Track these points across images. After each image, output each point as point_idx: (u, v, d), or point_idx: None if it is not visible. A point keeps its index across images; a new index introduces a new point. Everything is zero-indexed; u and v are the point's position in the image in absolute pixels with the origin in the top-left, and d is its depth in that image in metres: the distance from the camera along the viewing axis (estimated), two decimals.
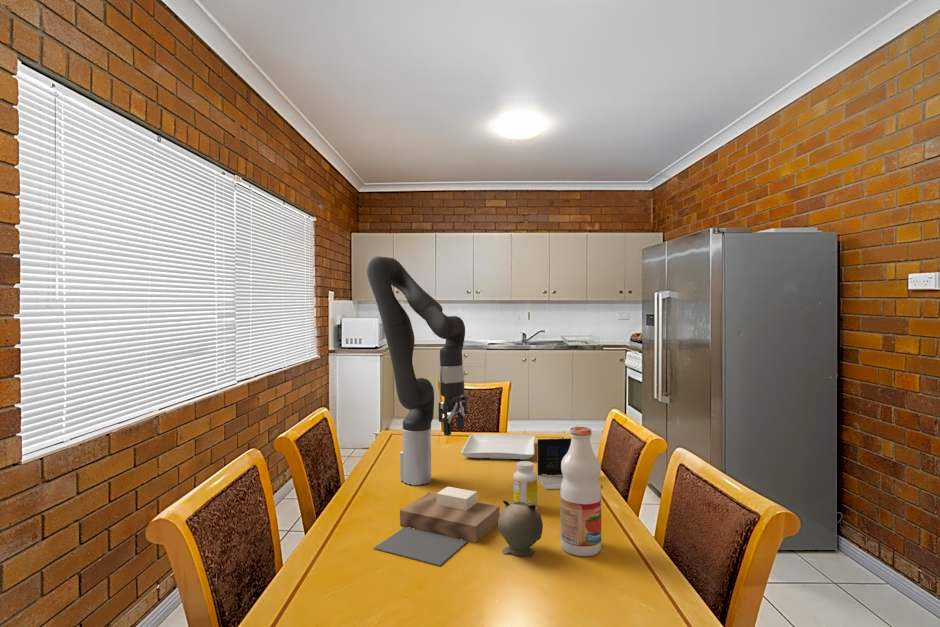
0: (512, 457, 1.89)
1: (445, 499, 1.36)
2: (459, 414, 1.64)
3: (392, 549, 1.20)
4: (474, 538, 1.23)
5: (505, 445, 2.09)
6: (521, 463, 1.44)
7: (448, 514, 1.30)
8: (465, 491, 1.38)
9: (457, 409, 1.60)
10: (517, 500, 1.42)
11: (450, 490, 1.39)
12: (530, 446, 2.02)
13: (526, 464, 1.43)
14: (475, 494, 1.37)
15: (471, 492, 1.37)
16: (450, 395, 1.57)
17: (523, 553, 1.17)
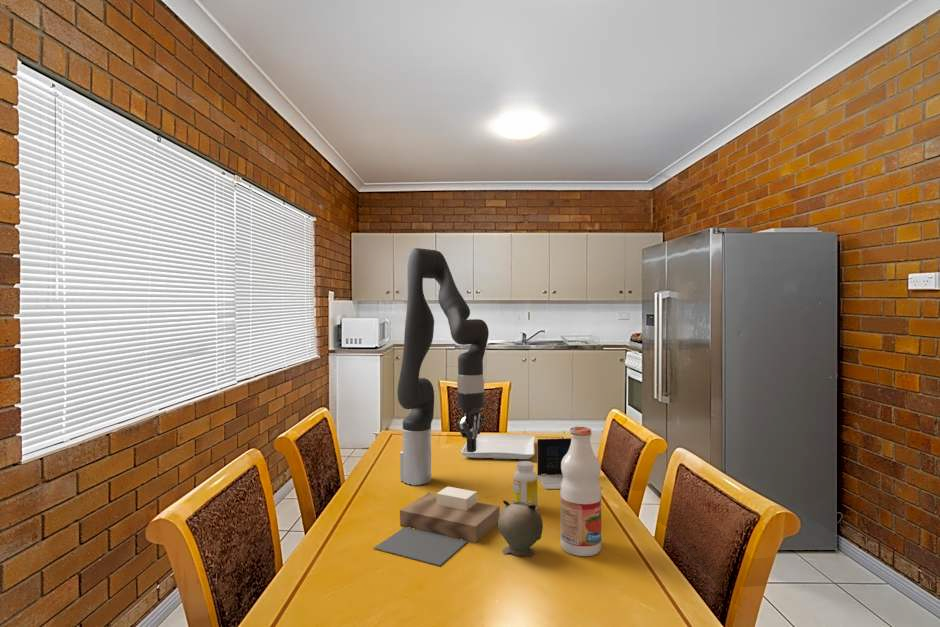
0: (512, 457, 1.89)
1: (445, 499, 1.36)
2: None
3: (392, 549, 1.20)
4: (474, 538, 1.23)
5: (505, 445, 2.09)
6: (521, 463, 1.44)
7: (448, 514, 1.30)
8: (465, 491, 1.38)
9: None
10: (517, 500, 1.42)
11: (450, 490, 1.39)
12: (530, 446, 2.02)
13: (526, 464, 1.43)
14: (475, 494, 1.37)
15: (471, 492, 1.37)
16: (469, 407, 1.41)
17: (523, 553, 1.17)
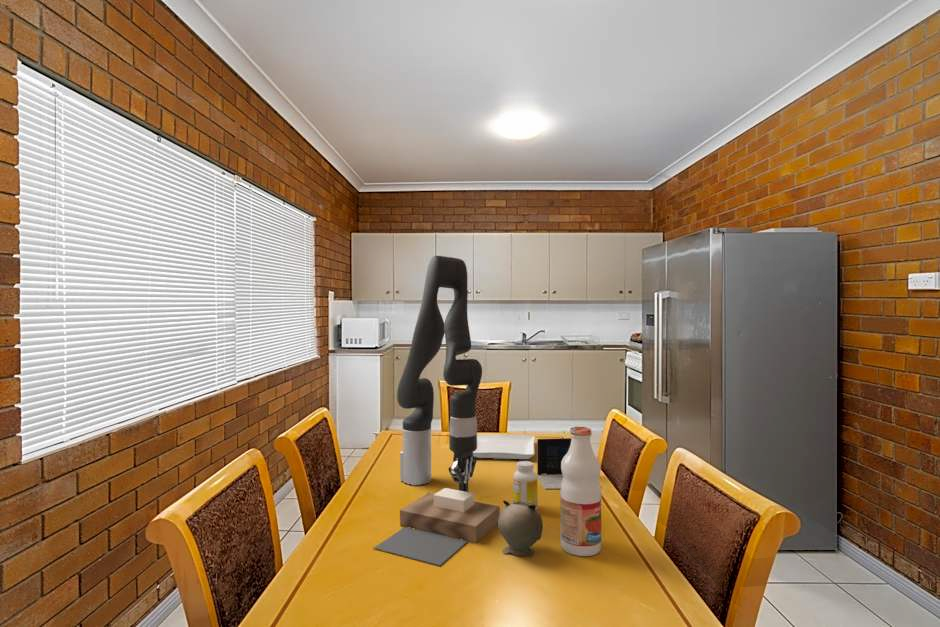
0: (512, 457, 1.89)
1: (442, 501, 1.35)
2: None
3: (392, 549, 1.20)
4: (474, 538, 1.23)
5: (505, 445, 2.09)
6: (521, 463, 1.44)
7: (448, 514, 1.30)
8: (462, 493, 1.37)
9: None
10: (517, 500, 1.42)
11: (447, 491, 1.38)
12: (530, 446, 2.02)
13: (526, 464, 1.43)
14: (472, 496, 1.36)
15: (468, 494, 1.36)
16: (461, 451, 1.37)
17: (523, 553, 1.17)
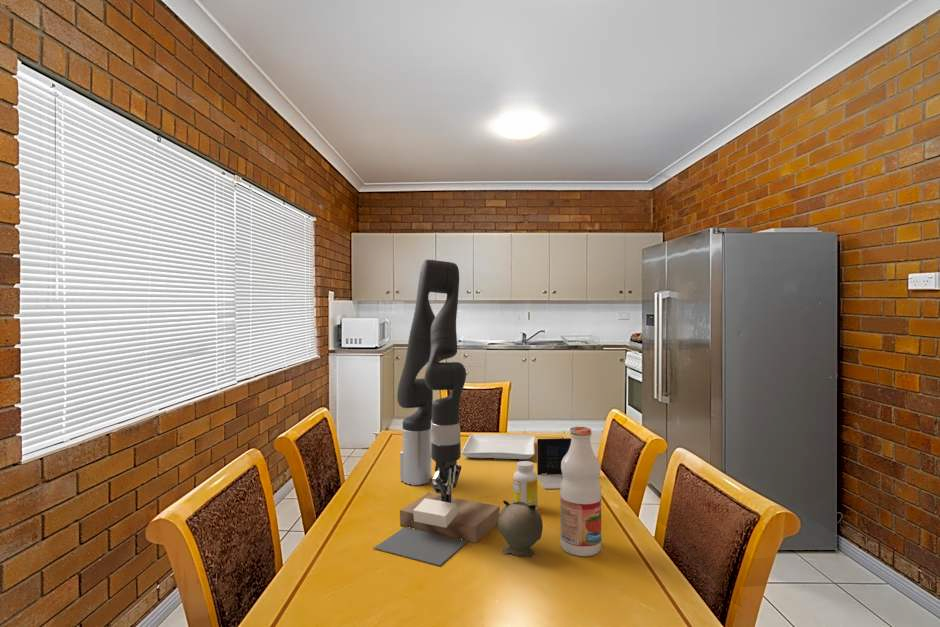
0: (512, 457, 1.89)
1: (422, 516, 1.26)
2: None
3: (392, 549, 1.20)
4: (474, 538, 1.23)
5: (505, 445, 2.09)
6: (521, 463, 1.44)
7: None
8: (444, 504, 1.29)
9: None
10: (517, 500, 1.42)
11: (428, 503, 1.29)
12: (530, 446, 2.02)
13: (526, 464, 1.43)
14: (455, 507, 1.28)
15: (450, 505, 1.28)
16: (443, 460, 1.28)
17: (523, 553, 1.17)
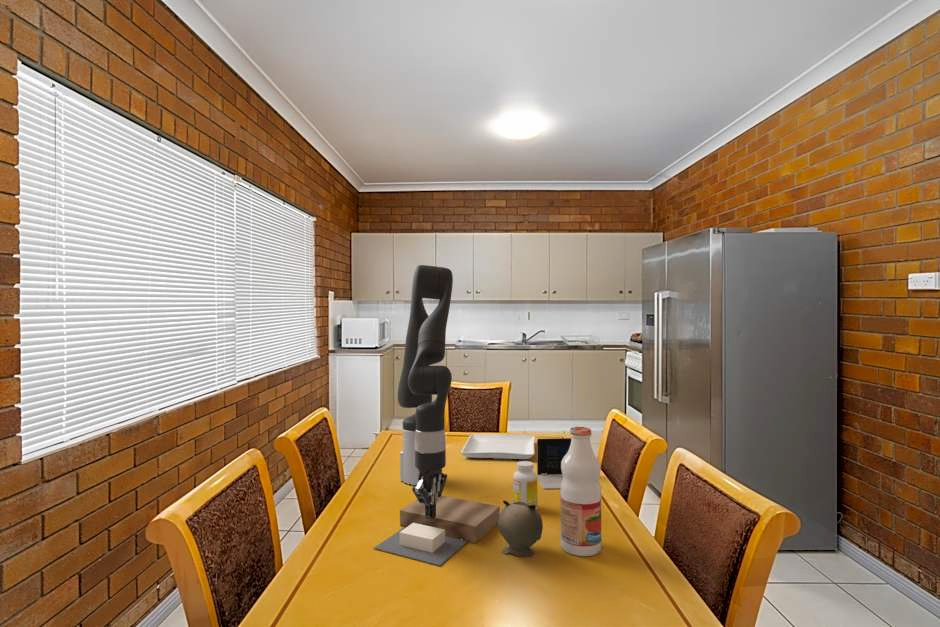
0: (512, 457, 1.89)
1: None
2: None
3: (392, 549, 1.20)
4: (474, 538, 1.23)
5: (504, 445, 2.09)
6: (521, 463, 1.44)
7: (448, 514, 1.30)
8: None
9: None
10: (517, 500, 1.42)
11: None
12: (530, 446, 2.02)
13: (526, 464, 1.43)
14: (434, 549, 1.18)
15: None
16: (426, 469, 1.22)
17: (523, 553, 1.17)
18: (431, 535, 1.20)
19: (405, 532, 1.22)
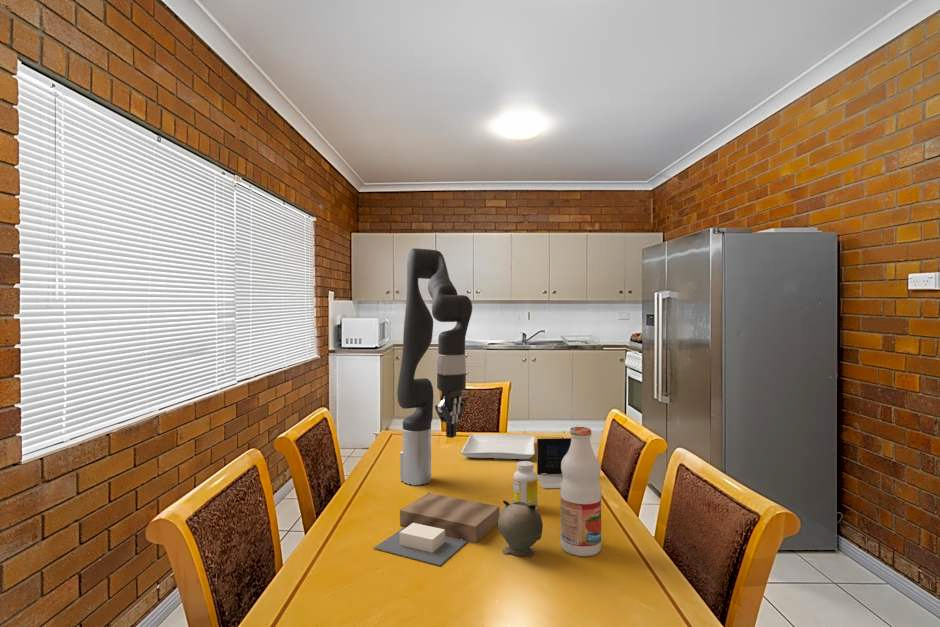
0: (512, 457, 1.89)
1: None
2: None
3: (392, 549, 1.20)
4: (474, 538, 1.23)
5: (504, 445, 2.09)
6: (521, 463, 1.44)
7: (448, 514, 1.30)
8: None
9: None
10: (517, 500, 1.42)
11: None
12: (530, 446, 2.02)
13: (526, 464, 1.43)
14: (434, 549, 1.18)
15: None
16: (448, 389, 1.31)
17: (523, 553, 1.17)
18: (431, 535, 1.20)
19: (405, 532, 1.22)
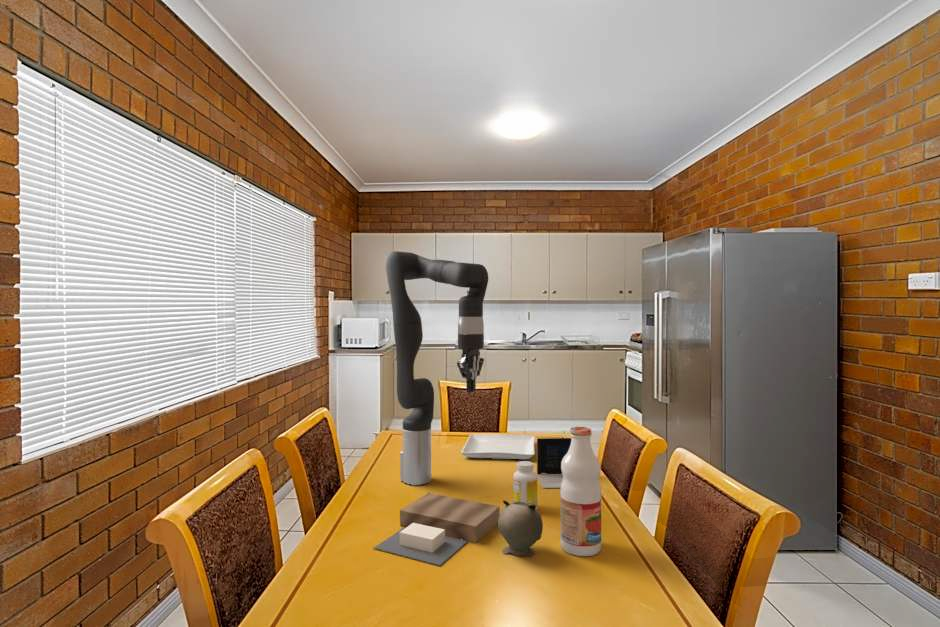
0: (512, 457, 1.89)
1: None
2: None
3: (392, 549, 1.20)
4: (474, 538, 1.23)
5: (504, 445, 2.09)
6: (521, 463, 1.44)
7: (448, 514, 1.30)
8: None
9: None
10: (517, 500, 1.42)
11: None
12: (530, 446, 2.02)
13: (526, 464, 1.43)
14: (434, 549, 1.18)
15: None
16: (469, 347, 1.45)
17: (523, 553, 1.17)
18: (431, 535, 1.20)
19: (405, 532, 1.22)
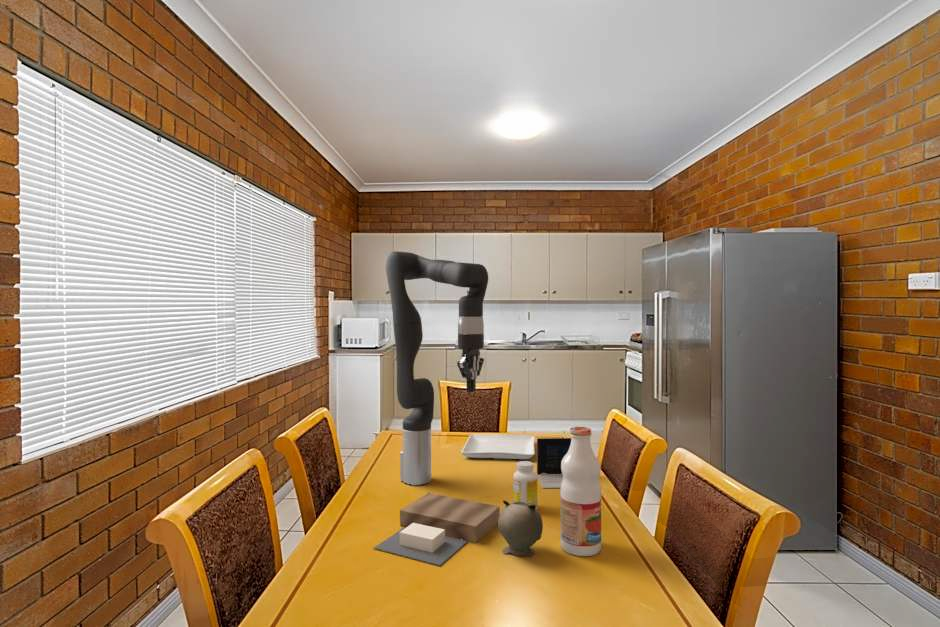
0: (512, 457, 1.89)
1: None
2: None
3: (392, 549, 1.20)
4: (474, 538, 1.23)
5: (504, 445, 2.09)
6: (521, 463, 1.44)
7: (448, 514, 1.30)
8: None
9: None
10: (517, 500, 1.42)
11: None
12: (530, 446, 2.02)
13: (526, 464, 1.43)
14: (434, 549, 1.18)
15: None
16: (469, 347, 1.45)
17: (523, 553, 1.17)
18: (431, 535, 1.20)
19: (405, 532, 1.22)
